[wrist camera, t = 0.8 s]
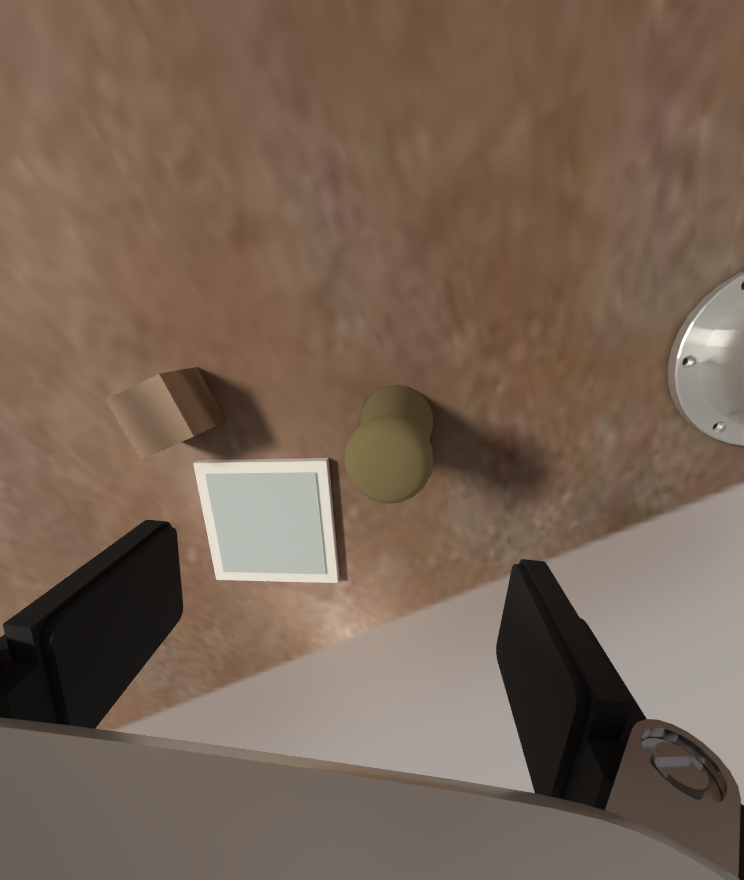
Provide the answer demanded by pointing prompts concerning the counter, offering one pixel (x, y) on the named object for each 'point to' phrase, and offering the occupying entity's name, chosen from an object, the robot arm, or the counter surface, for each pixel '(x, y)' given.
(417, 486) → the olive rounded tall piece
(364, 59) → the counter surface
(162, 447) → the walnut block
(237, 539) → the plate
